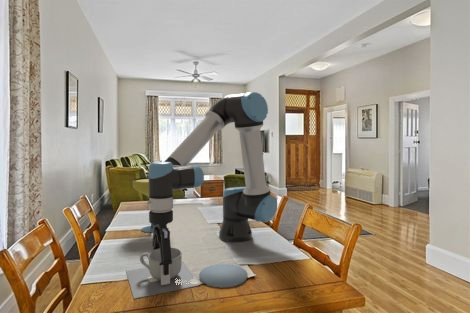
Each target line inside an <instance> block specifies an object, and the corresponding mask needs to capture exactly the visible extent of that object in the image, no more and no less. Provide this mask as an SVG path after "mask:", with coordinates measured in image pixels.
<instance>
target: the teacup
mask: <svg viewBox="0 0 470 313" xmlns="http://www.w3.org/2000/svg"><path fill="white" fill-rule="evenodd" d="M182 254H183V252H182V250H180V249H179V248H176V247H171V258H172V264H170V280H171V279H173V278H174V277H175V276H176V275H178V274H179V272H180V270H181V263H182ZM144 257H146V258H147V260H148V262H146V261H145V259H144ZM139 261H140V263H141V265H143V266H144V268H146V267H147V268H148V269H149V271H150V274H151V275H152V276H153V277H154V278H156V279H157V280H160V281H161V265H159V264H160V263H161V262H162V261H161V253H160V248H159V249H156V250H152V251H150V252H142V253H141V254H140V256H139Z"/></svg>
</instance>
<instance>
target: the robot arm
mask: <svg viewBox="0 0 470 313" xmlns="http://www.w3.org/2000/svg"><path fill="white" fill-rule="evenodd" d="M268 113H269V105H268V103H267V100H266V99H265V97H264V96H263V95H262V94H261V93H260V92H255V91H247V92H242V93H235V94H234V93H233V94H228V95H225V96H224V97H222V98H221V99H219V100H218V101H217V102H215V103H214V104H213V105H212V106H211V107H210V108H209V110H207V111H206V112H205V114H204V115H205V117H204V118H203V119H202V120H201V122H200V123H199V124H198V125H197V126H196V127H195V128H194V129H193V130H192V131H191V132H190V133H189V135H188V136H186V138H184V140H183V141H182V142H181V143H180V144H179V145H178V146H177V147H176V148H175V150H174V151H173V152H172V153H171V154H170V155H169V156H168V157H167V158H166V159H165V160H164V161H154V162H151V163H150V164H149V166H148V173H147V174H148V175H147V176H148V178H149V197H148V199H149V200H147V201H146V204H148V208H149V211H148V222H149V223H150V225H151V224H153V233H152V244H151V246H152V249H153V250H156V249H159V248H160V253H161V261H162V262H161V263H160V264H159V265H161V285H165V284H170V264H172V258H171V248H172V247H171V230H169V227H167V226H168V224H171V223H172V222H173V221H174V211H173V208H174V191H176V190H177V191H178V190H185V189H195V188H198V187H201V186H202V185H203V183H204V180H205V174H204V171H203V169H202V168H201V167H200V166H199V165H189V164H190V163H191V162H192V161H193V159H194V158H195V157H196V156H197V155H198V154H199V153H200V152H201V150H202V149H203V148H204V147H205V146H206V144H208V142H209V141H210V140H211V139H212V138H213V137H214V136H215V134H216V133H217V132H218V131H219V130H223V129H224V128H225V126H228V125H229V124H233V123H234V129H235V130H237V131H238V132H239V133H238V134H239V141H240V149H241V157H242V167H243V173H244V174H243V175H244V183H245V186H235V187H227V188H224V190H223V195H222V223H221V226H220V229H219V233H218V234H219V236H218V237H219V239H220V240H222V241H225V242H229V243H242V242H247V241H249V240H251V239H253V235H252V234H253V232H252V229H251V225H250V222H249V220H252V221H256V222H257V223H258V222H259V223H260V222H261V223H267V222H270V221H271V220H272V219H273V218H274V216H275V215H276V212H277V210H278V200H277V198H276V197H275V196H274V195H273V194H271V188H270V187H269V186H268V185H267V182H266V172H265V165H264V164H265V161H264V153H263V145H262V144H263V143H262V133H261V129H262V128H263V126H264V120H266V118H267V117H268V116H267V115H268ZM188 165H189V166H188ZM153 250H152V251H153Z"/></svg>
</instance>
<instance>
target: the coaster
mask: <svg viewBox="0 0 470 313" xmlns="http://www.w3.org/2000/svg"><path fill="white" fill-rule="evenodd" d="M198 278H200V279H199V281H200V280H201V281H202V282H203V283H202V282H201V281H200V282H201V283H202V284H204V283H205V284H207V285H206V286H208V285H209V287H211V286H212V288H217V287H219V288H220V289H226V288H227V289H228V288H229V289H230V288H234V287H237V286H240V285H243V283H245V282H246V281H247V279H248V272H247V270H246V269H245V268H243V267H241V266H239V265H237V264H236V265H235V264H231V263H230V264H229V263H218V264H212V265H208V266H206V267H204V268H202V269H201V270H200V271H199V273H198ZM205 284H204V285H205Z"/></svg>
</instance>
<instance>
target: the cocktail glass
mask: <svg viewBox="0 0 470 313" xmlns="http://www.w3.org/2000/svg"><path fill="white" fill-rule="evenodd" d="M132 187H133V189H134V190H135V191H137V192H139V193H140V194H142V195H145V196H147V198H149V178H148V177H140V178H134V179H133V180H132ZM140 230H141V232H143V233H147V234H148V233H149V234H151V233H152V234H153V224H151V223H150V225H149V226H145V227H142V228H141V229H140Z"/></svg>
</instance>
